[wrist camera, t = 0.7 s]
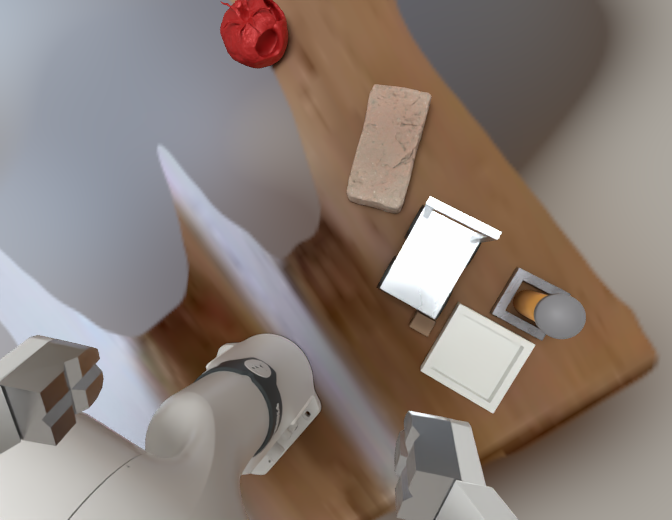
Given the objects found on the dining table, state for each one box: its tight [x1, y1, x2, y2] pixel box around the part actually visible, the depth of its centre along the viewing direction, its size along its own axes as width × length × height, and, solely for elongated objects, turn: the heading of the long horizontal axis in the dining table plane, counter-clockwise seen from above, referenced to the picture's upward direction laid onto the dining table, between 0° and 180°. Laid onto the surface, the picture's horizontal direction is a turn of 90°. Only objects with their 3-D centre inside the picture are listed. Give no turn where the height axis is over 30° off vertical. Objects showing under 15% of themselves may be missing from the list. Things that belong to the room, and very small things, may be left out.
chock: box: [410, 310, 436, 337], centre depth 54 cm, size 2×3×2 cm
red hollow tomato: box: [220, 0, 288, 68], centre depth 55 cm, size 10×10×9 cm
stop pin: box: [513, 290, 586, 339], centre depth 46 cm, size 5×5×12 cm
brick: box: [347, 84, 431, 213], centre depth 54 cm, size 17×8×5 cm, turn 166°
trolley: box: [377, 196, 502, 320], centre depth 45 cm, size 13×9×19 cm
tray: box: [421, 302, 535, 413], centre depth 53 cm, size 11×11×2 cm
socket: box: [490, 268, 571, 340], centre depth 51 cm, size 7×7×2 cm
